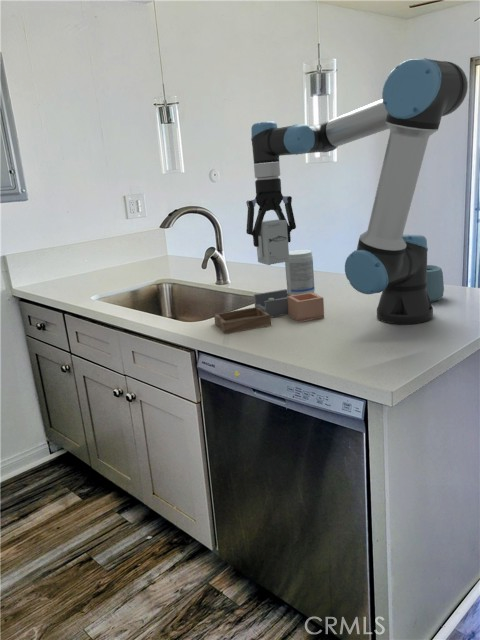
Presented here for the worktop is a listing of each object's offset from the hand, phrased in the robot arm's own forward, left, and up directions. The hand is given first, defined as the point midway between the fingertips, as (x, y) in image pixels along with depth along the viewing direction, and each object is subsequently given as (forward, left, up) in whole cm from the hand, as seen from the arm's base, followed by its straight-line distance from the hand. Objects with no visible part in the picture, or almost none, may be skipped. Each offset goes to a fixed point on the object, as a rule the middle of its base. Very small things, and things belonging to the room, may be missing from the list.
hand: (273, 255), depth 160 cm
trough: (-8, +14, -18) cm, 24 cm away
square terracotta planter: (-11, -5, -18) cm, 21 cm away
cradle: (0, 0, -18) cm, 18 cm away
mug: (-13, -44, -18) cm, 49 cm away
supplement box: (0, 0, -2) cm, 2 cm away
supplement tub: (+16, -15, -18) cm, 28 cm away
